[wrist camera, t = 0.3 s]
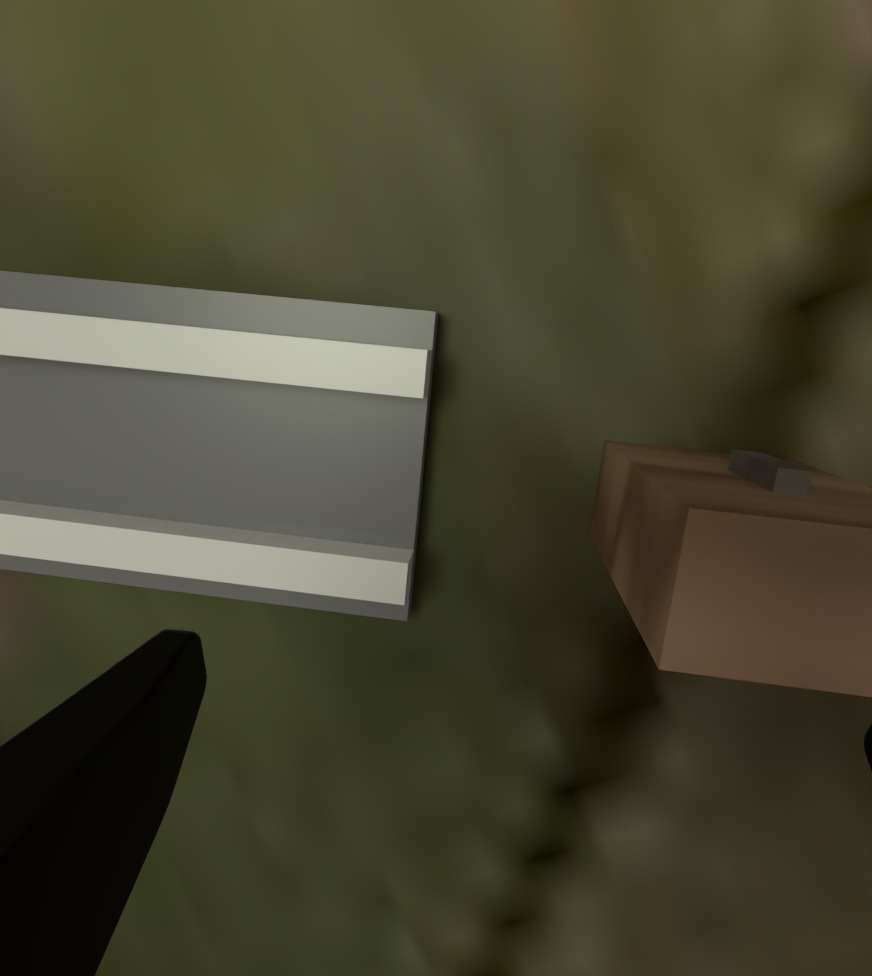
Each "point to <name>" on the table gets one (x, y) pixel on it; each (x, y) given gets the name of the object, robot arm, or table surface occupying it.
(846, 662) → the wooden block
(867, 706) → the table surface
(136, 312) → the track board
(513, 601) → the table surface
